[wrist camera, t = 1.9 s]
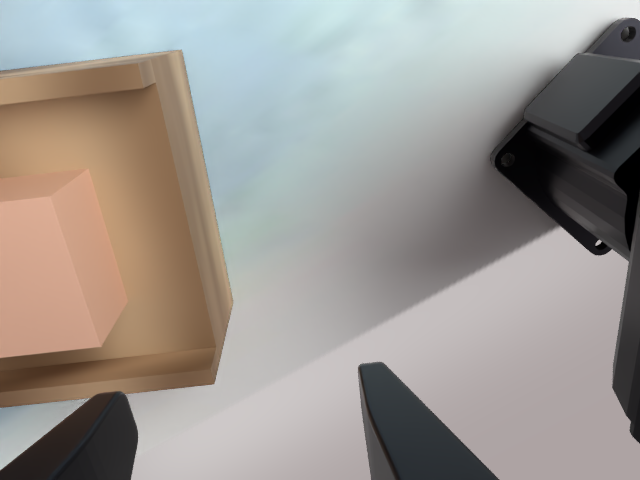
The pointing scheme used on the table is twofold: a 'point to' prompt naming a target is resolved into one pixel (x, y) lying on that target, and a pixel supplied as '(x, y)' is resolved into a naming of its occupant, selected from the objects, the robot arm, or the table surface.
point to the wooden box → (125, 220)
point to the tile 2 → (55, 265)
